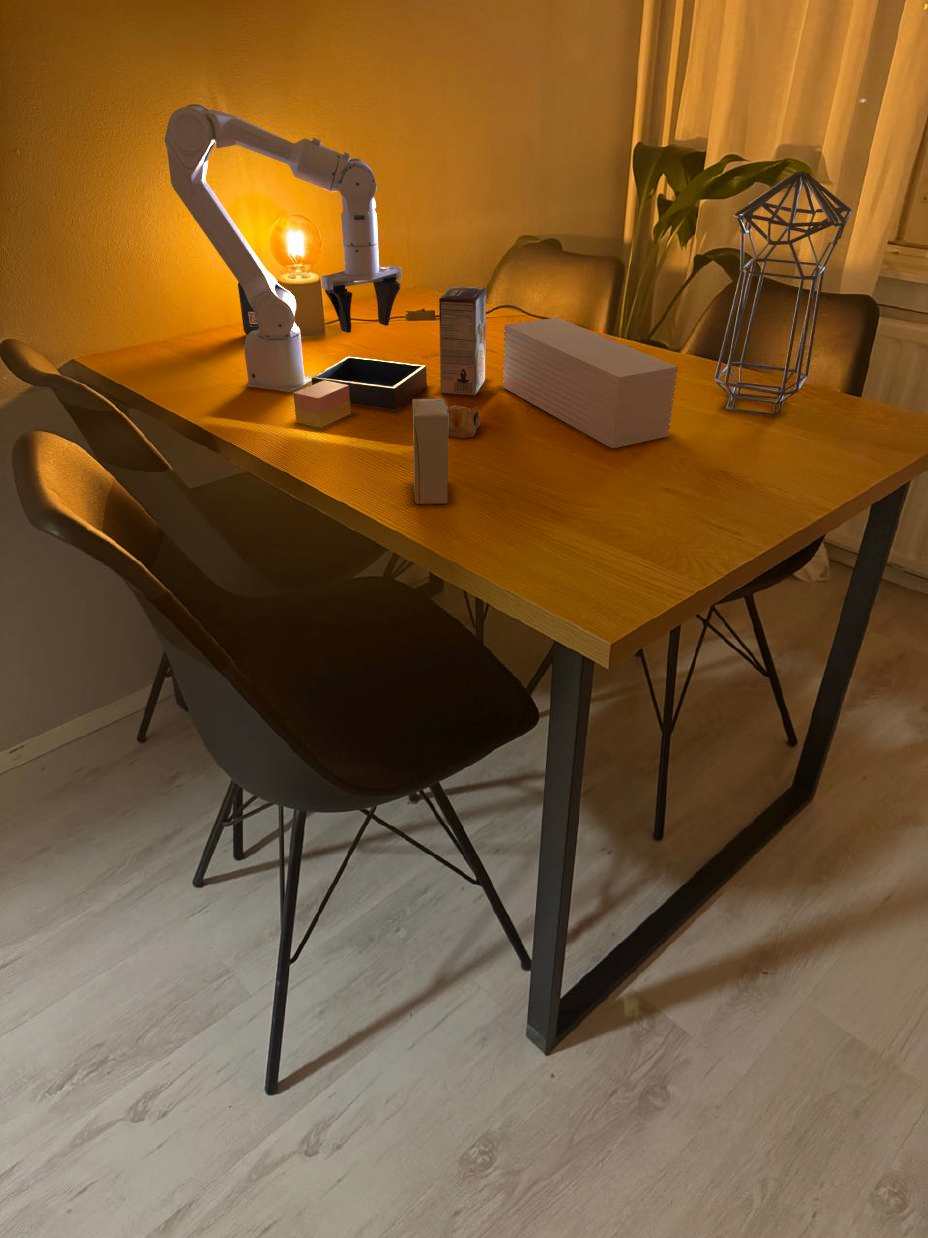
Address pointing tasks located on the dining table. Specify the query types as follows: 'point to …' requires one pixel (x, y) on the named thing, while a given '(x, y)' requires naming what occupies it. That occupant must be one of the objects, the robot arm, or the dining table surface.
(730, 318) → the geometric lantern
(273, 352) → the robot arm
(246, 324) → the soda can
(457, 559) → the dining table surface
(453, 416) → the pastry
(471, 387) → the coffee box
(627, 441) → the stack of papers
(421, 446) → the cosmetic box
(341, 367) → the storage box
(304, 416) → the pink rectangular block
